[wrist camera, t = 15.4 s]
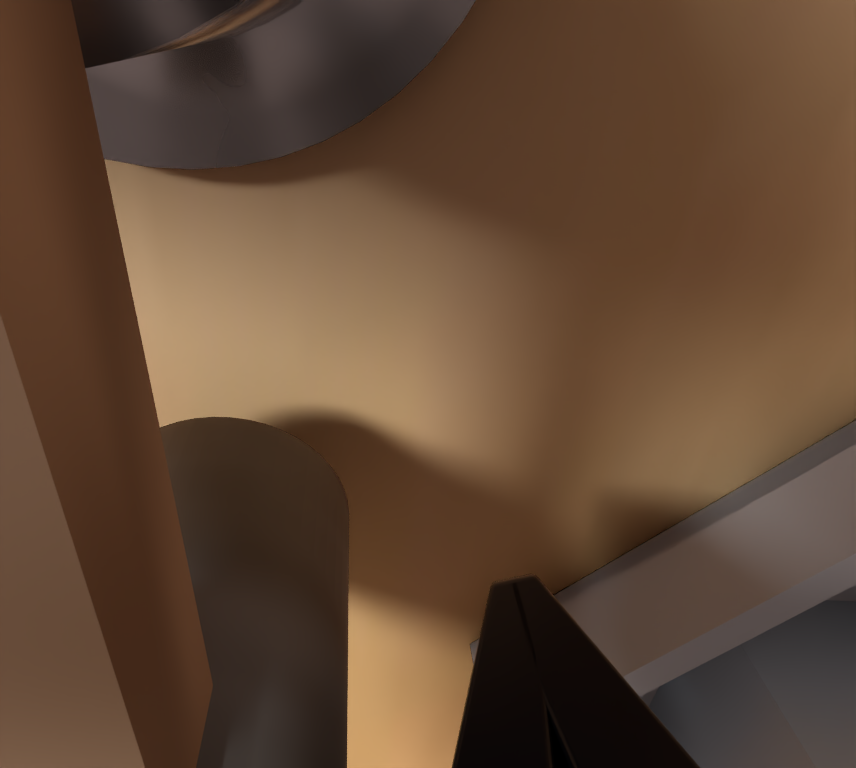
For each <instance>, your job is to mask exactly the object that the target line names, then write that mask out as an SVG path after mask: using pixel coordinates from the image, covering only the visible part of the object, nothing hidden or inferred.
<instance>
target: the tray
mask: <svg viewBox="0 0 856 768" xmlns="http://www.w3.org/2000/svg"><path fill="white" fill-rule="evenodd" d="M554 597H555V598H556V599H557V600H558V601H559V603H560V604H561V605H562V606H563V607H564V608H565V610H566V611H567V612H568V613H569V614H570V615H571V617H572V618H573V619H574V620H575V621H576V622H577V624H578V625H579V626H580V627H581V628H582V629H583V631H584V632H585V633H586V634H587V635H588V636H589V638H590V639H591V640H592V641H593V642H594V644H595V645H596V646H597V647H598V648H599V649H600V651H601V652H602V653H603V654H604V655H605V656H606V658H607V659H608V660H609V661H610V662H611V663H612V665H613V666H614V667H615V668H616V669H617V670H618V672H619V673H620V674H621V675H622V676H623V677H624V679H625V680H626V681H627V682H628V683H629V685H630V686H631V687H632V688H633V689H634V690H635V692H636V693H637V694H638V695H639V696H640V697H641V699H642V700H643V701H644V702H645V703H646V704H647V706H648V707H649V705H650V703H651V701H652V699H653V698H654V696H655V694H656V692H657V690H658V688H659V686H661V685H663V684H665V683H667V682H669V681H671V680H673V679H675V678H677V677H679V676H680V675H682V674H684V673H686V672H688V671H690V670H692V669H694V668H696V667H698V666H700V665H702V664H704V663H706V662H707V661H709V660H711V659H713V658H715V657H717V656H719V655H721V654H723V653H725V652H727V651H729V650H731V649H733V648H734V647H736V646H738V645H740V644H742V643H744V642H746V641H748V640H750V639H752V638H754V637H756V636H758V635H760V634H761V633H763V632H765V631H767V630H769V629H771V628H773V627H775V626H777V625H779V624H781V623H783V622H785V621H787V620H788V619H790V618H792V617H794V616H796V615H798V614H800V613H802V612H804V611H806V610H808V609H810V608H812V607H814V606H816V605H817V604H819V603H821V602H823V601H825V600H835V601H852V602H856V420H855V421H853V422H852V423H850V424H848V425H847V426H845V427H843V428H841V429H840V430H838V431H836V432H834V433H833V434H831V435H829V436H828V437H826V438H824V439H822V440H821V441H819V442H817V443H816V444H814V445H812V446H810V447H809V448H807V449H805V450H803V451H802V452H800V453H798V454H797V455H795V456H793V457H791V458H790V459H788V460H786V461H784V462H783V463H781V464H779V465H778V466H776V467H774V468H772V469H771V470H769V471H767V472H766V473H764V474H762V475H760V476H759V477H757V478H755V479H753V480H752V481H750V482H748V483H747V484H745V485H743V486H741V487H740V488H738V489H736V490H734V491H733V492H731V493H729V494H728V495H726V496H724V497H722V498H721V499H719V500H717V501H716V502H714V503H712V504H710V505H709V506H707V507H705V508H703V509H702V510H700V511H698V512H697V513H695V514H693V515H691V516H690V517H688V518H686V519H684V520H683V521H681V522H679V523H678V524H676V525H674V526H672V527H671V528H669V529H667V530H666V531H664V532H662V533H660V534H659V535H657V536H655V537H653V538H652V539H650V540H648V541H647V542H645V543H643V544H641V545H640V546H638V547H636V548H634V549H633V550H631V551H629V552H628V553H626V554H624V555H622V556H621V557H619V558H617V559H616V560H614V561H612V562H610V563H609V564H607V565H605V566H603V567H602V568H600V569H598V570H597V571H595V572H593V573H591V574H590V575H588V576H586V577H584V578H583V579H581V580H579V581H578V582H576V583H574V584H572V585H571V586H569V587H567V588H566V589H564V590H562V591H560V592H559V593H557V594H555V595H554ZM478 641H479V639H478V640H476V641H474V642H472V643H471V644H470V648H471V654H472V659H473V665H474V660H475V656H476V651H477V646H478Z"/></svg>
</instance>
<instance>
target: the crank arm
mask: <svg viewBox="0 0 856 768" xmlns="http://www.w3.org/2000/svg"><path fill="white" fill-rule="evenodd" d="M348 578H349V508H348V501H347V497H346V494H345V491H344V488H343V486H342V484H341V482H340V480H339V478H338V476H337V475H336V473H335V472H334V470H333V469H332V467H331V466H330V465H329V464H328V463H327V462H326V461H325V459H324V458H323V457H322V456H321V455H320V454H319V453H317V452H316V451H315V450H314V449H313V448H311V447H310V446H309V445H307V444H306V443H304V442H303V441H301V440H300V439H298V438H296V437H295V436H293V435H291V434H289V433H287V432H284V431H282V430H280V429H277V428H275V427H272V426H269V425H266V424H263V423H259V422H255V421H251V420H245V419H238V418H230V417H206V418H195V419H190V420H184V421H179V422H176V423H173V424H169V425H166V426H163V427H161V428H160V427H159V422H158V417H157V413H156V408H155V403H154V398H153V393H152V389H151V384H150V379H149V374H148V369H147V364H146V360H145V355H144V350H143V345H142V340H141V335H140V331H139V326H138V321H137V316H136V311H135V307H134V302H133V297H132V292H131V287H130V282H129V278H128V273H127V268H126V263H125V258H124V253H123V249H122V244H121V239H120V234H119V229H118V225H117V220H116V215H115V210H114V205H113V200H112V196H111V191H110V186H109V181H108V176H107V171H106V167H105V162H104V157H103V152H102V147H101V142H100V138H99V133H98V128H97V123H96V118H95V114H94V109H93V104H92V99H91V94H90V89H89V85H88V80H87V75H86V70H85V65H84V61H83V56H82V51H81V46H80V41H79V36H78V32H77V27H76V22H75V17H74V12H73V7H72V3H71V0H0V768H347V690H348Z"/></svg>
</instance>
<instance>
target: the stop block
mask: <svg viewBox="0 0 856 768" xmlns="http://www.w3.org/2000/svg"><path fill="white" fill-rule="evenodd" d="M649 708H650V709H651V710H652V711H653V713H654V714H655V715H656V716H657V717H658V718H659V720H660V721H661V722H662V723H663V724H664V726H665V727H666V728H667V729H668V730H669V731H670V733H671V734H672V735H673V736H674V737H675V738H676V740H677V741H678V742H679V743H680V744H681V745H682V747H683V748H684V749H685V750H686V751H687V752H688V754H689V755H690V756H691V757H692V758H693V759H694V761H695V762H696V763H697V764H698V765H699V767H700V768H856V602H852V601H835V600H825V601H823V602H821V603H819V604H817V605H816V606H814V607H812V608H810V609H808V610H806V611H804V612H802V613H800V614H798V615H796V616H794V617H792V618H790V619H788V620H787V621H785V622H783V623H781V624H779V625H777V626H775V627H773V628H771V629H769V630H767V631H765V632H763V633H761V634H760V635H758V636H756V637H754V638H752V639H750V640H748V641H746V642H744V643H742V644H740V645H738V646H736V647H734V648H733V649H731V650H729V651H727V652H725V653H723V654H721V655H719V656H717V657H715V658H713V659H711V660H709V661H707V662H706V663H704V664H702V665H700V666H698V667H696V668H694V669H692V670H690V671H688V672H686V673H684V674H682V675H680V676H679V677H677V678H675V679H673V680H671V681H669V682H667V683H665V684H663V685H661V686H659V688H658V690H657V692H656V694H655V696H654V698H653V699H652V701H651V703H650V705H649Z"/></svg>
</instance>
